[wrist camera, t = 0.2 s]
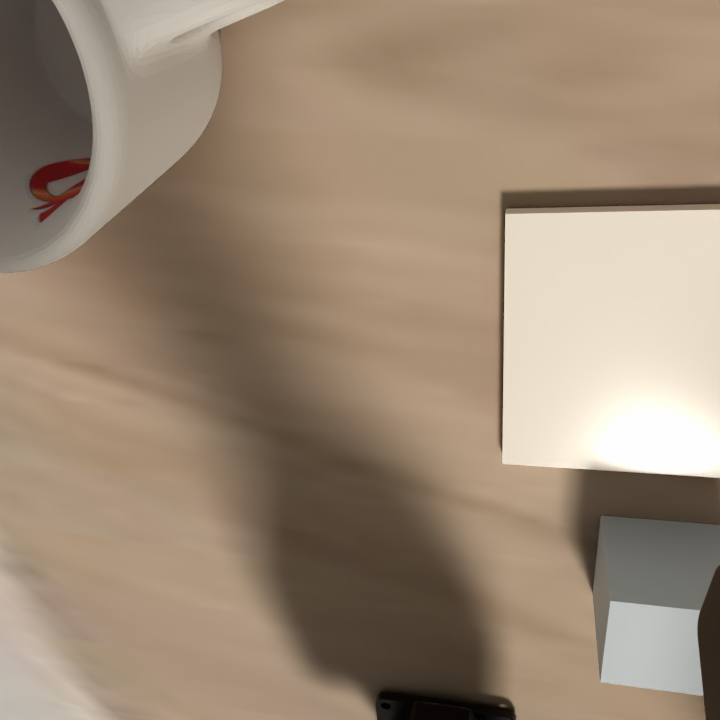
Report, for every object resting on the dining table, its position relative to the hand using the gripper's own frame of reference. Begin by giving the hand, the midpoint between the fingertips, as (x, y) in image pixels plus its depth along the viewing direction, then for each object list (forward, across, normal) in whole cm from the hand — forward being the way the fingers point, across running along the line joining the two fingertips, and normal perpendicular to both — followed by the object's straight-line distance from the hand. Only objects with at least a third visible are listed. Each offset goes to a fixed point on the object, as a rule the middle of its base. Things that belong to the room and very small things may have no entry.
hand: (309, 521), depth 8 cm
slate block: (+14, -9, +13) cm, 21 cm away
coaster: (+14, -7, +4) cm, 16 cm away
